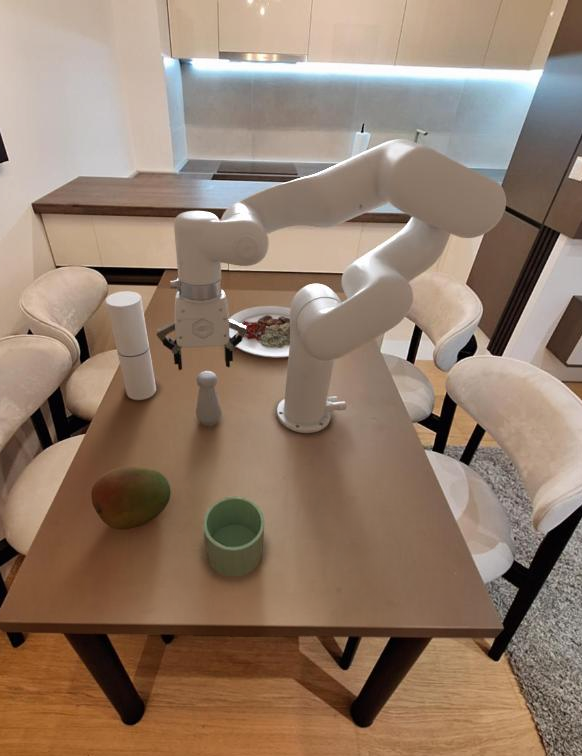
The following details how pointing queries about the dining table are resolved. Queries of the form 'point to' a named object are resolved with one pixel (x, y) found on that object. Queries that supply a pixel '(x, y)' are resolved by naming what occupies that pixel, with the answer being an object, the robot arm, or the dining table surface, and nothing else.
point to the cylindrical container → (132, 343)
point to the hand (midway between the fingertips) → (204, 364)
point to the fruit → (130, 497)
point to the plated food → (264, 331)
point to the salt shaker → (208, 399)
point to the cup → (234, 536)
